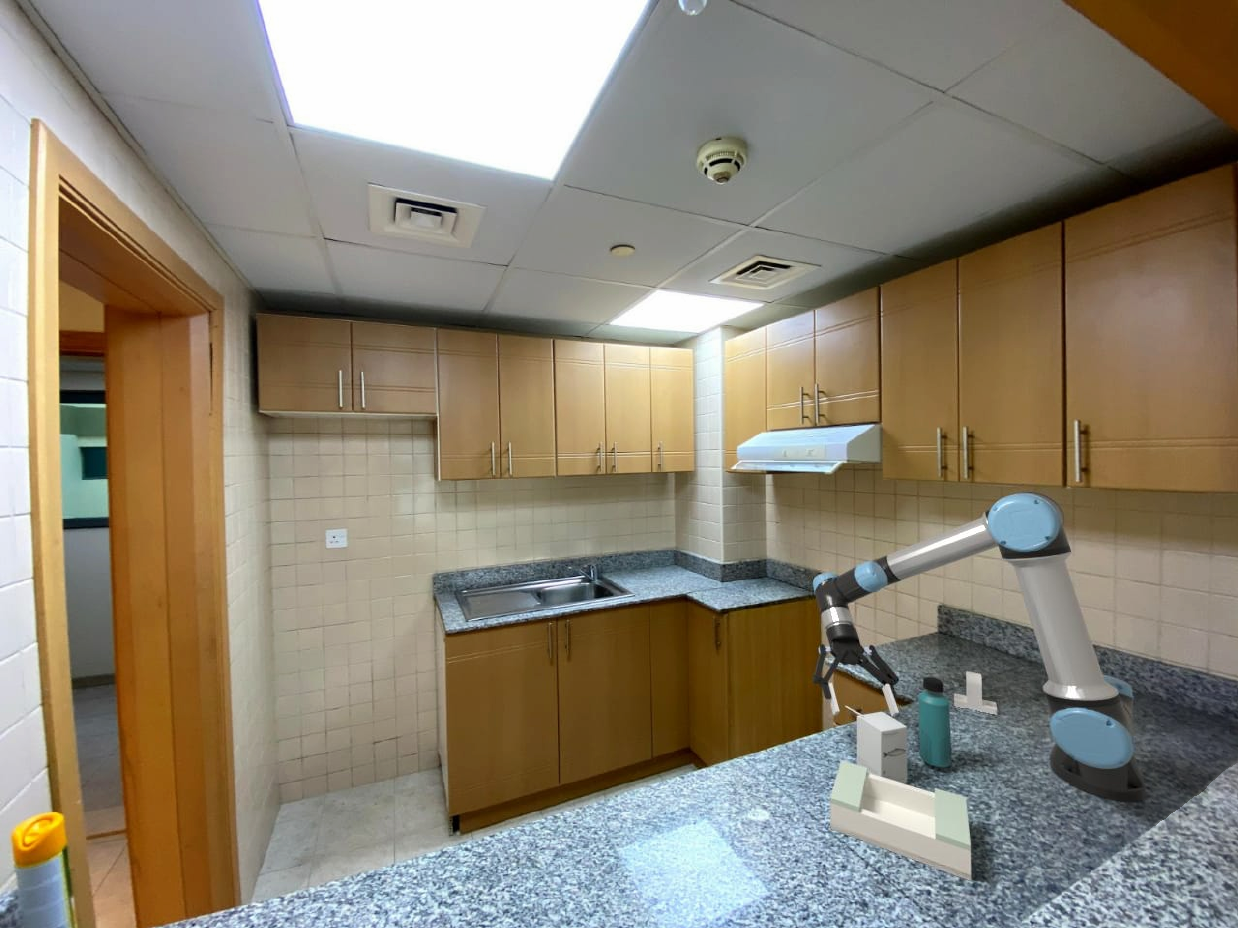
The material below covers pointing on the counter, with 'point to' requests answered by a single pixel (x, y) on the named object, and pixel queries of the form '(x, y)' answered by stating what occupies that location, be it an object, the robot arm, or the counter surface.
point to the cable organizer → (974, 696)
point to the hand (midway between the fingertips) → (865, 714)
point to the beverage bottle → (934, 724)
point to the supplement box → (882, 746)
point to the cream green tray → (902, 819)
